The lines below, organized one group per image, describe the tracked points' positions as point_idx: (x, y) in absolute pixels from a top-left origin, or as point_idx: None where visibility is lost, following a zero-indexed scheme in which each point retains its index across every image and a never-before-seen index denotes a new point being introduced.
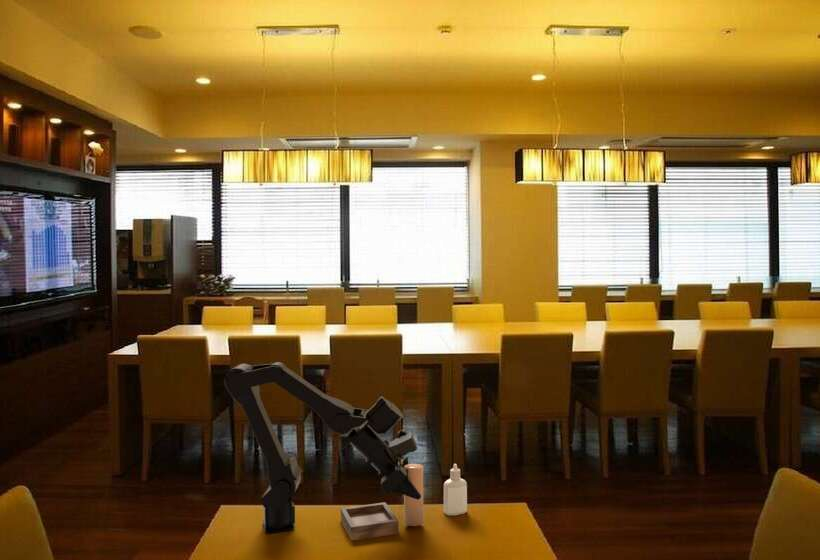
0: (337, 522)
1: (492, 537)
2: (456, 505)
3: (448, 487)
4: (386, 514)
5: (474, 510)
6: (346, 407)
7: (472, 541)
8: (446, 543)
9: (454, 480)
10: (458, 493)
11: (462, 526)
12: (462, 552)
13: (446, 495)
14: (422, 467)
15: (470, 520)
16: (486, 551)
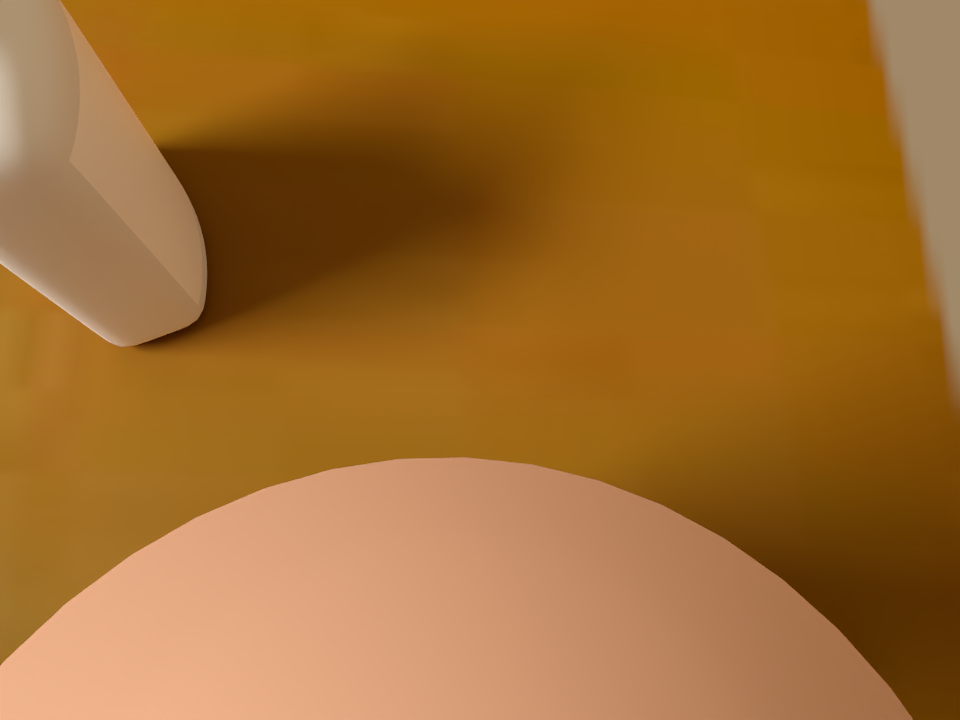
0: None
1: (627, 12)
2: (172, 188)
3: (67, 148)
4: None
5: None
6: None
7: (712, 149)
8: (777, 346)
9: None
10: (108, 84)
11: (438, 203)
12: (908, 232)
13: (108, 236)
14: (540, 488)
15: (315, 134)
16: (857, 72)
